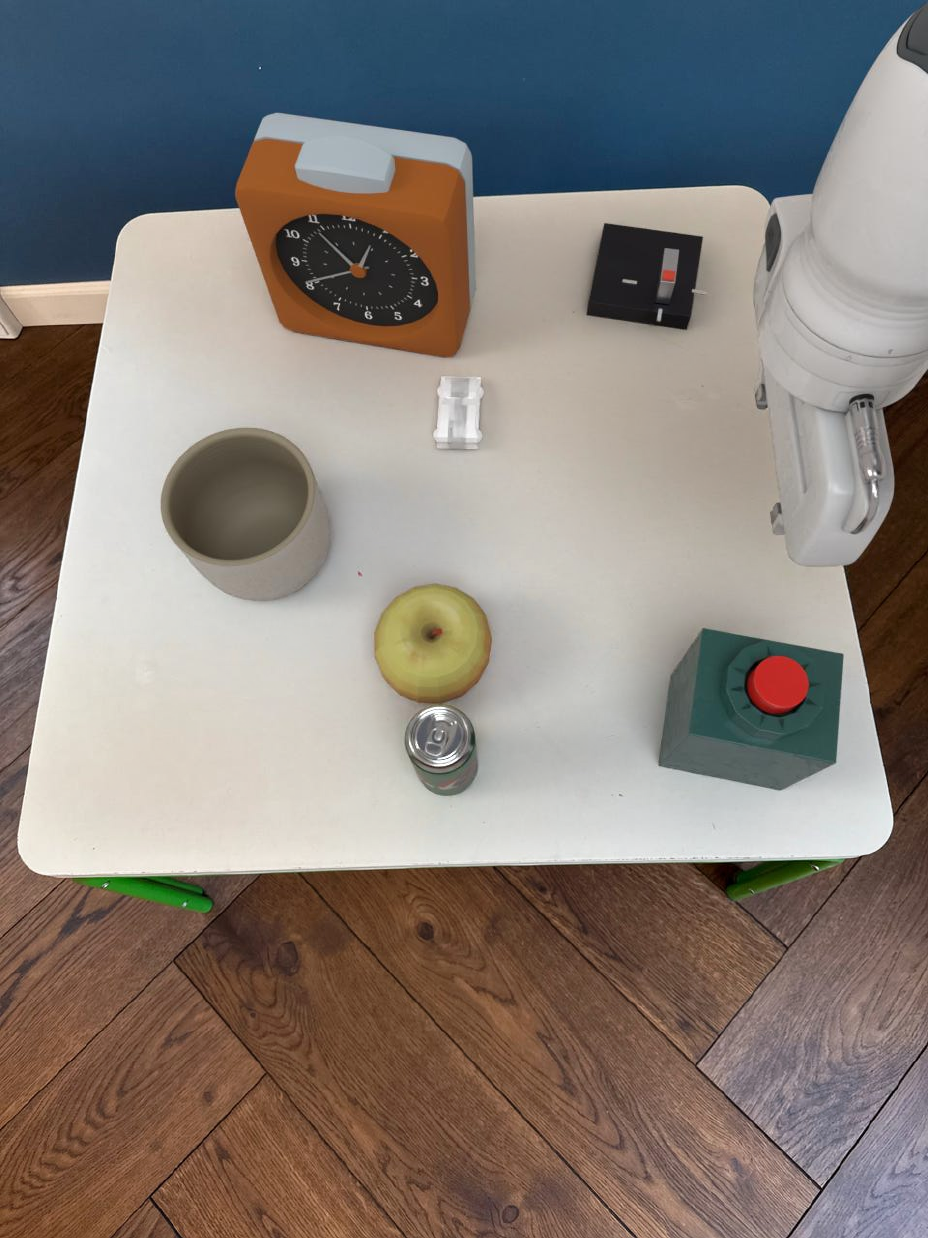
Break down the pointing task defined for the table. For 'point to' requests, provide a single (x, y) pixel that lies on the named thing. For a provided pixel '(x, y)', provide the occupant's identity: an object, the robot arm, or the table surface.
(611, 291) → the black flat square piece
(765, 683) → the button
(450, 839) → the table surface
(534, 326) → the table surface
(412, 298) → the alarm clock
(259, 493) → the planter
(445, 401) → the toy car
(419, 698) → the apple
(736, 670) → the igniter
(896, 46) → the robot arm
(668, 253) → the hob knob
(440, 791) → the soda can
